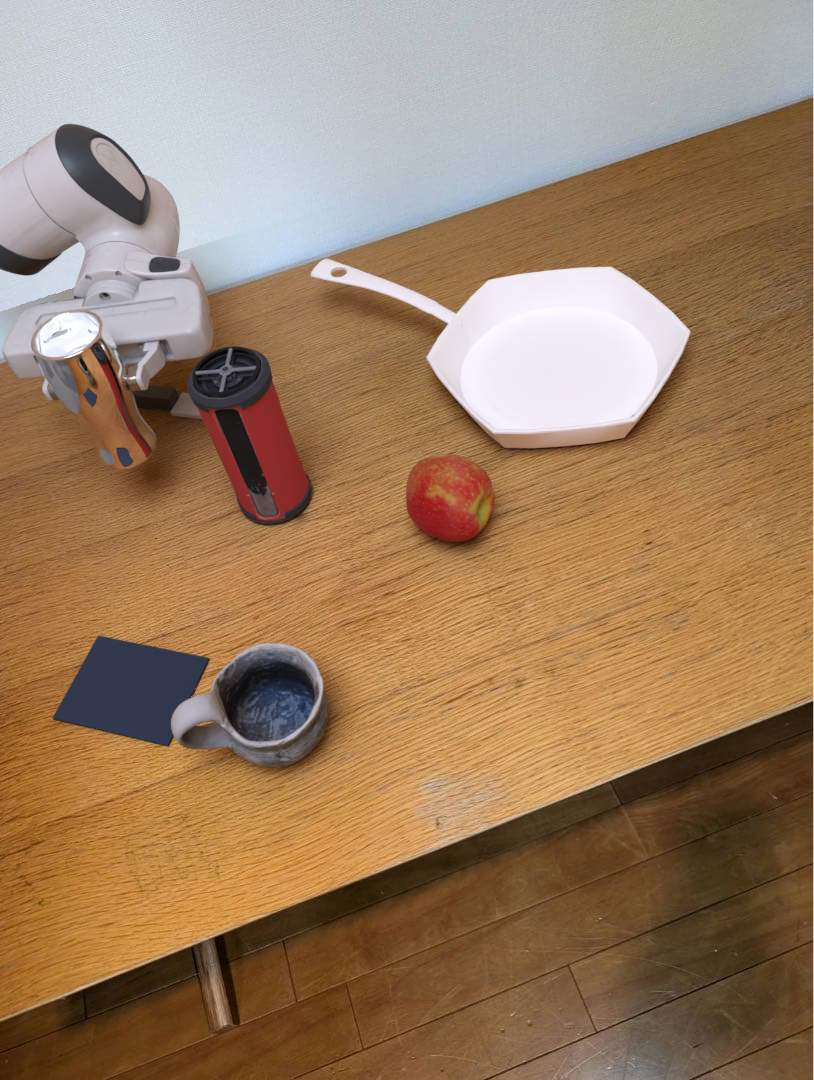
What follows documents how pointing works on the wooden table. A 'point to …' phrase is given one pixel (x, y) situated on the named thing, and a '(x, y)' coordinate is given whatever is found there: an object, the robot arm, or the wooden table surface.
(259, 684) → the mug
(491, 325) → the pan
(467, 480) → the apple
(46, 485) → the wooden table surface
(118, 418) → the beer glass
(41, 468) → the wooden table surface
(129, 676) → the cloth
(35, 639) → the wooden table surface
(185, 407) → the spatula
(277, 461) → the speaker
